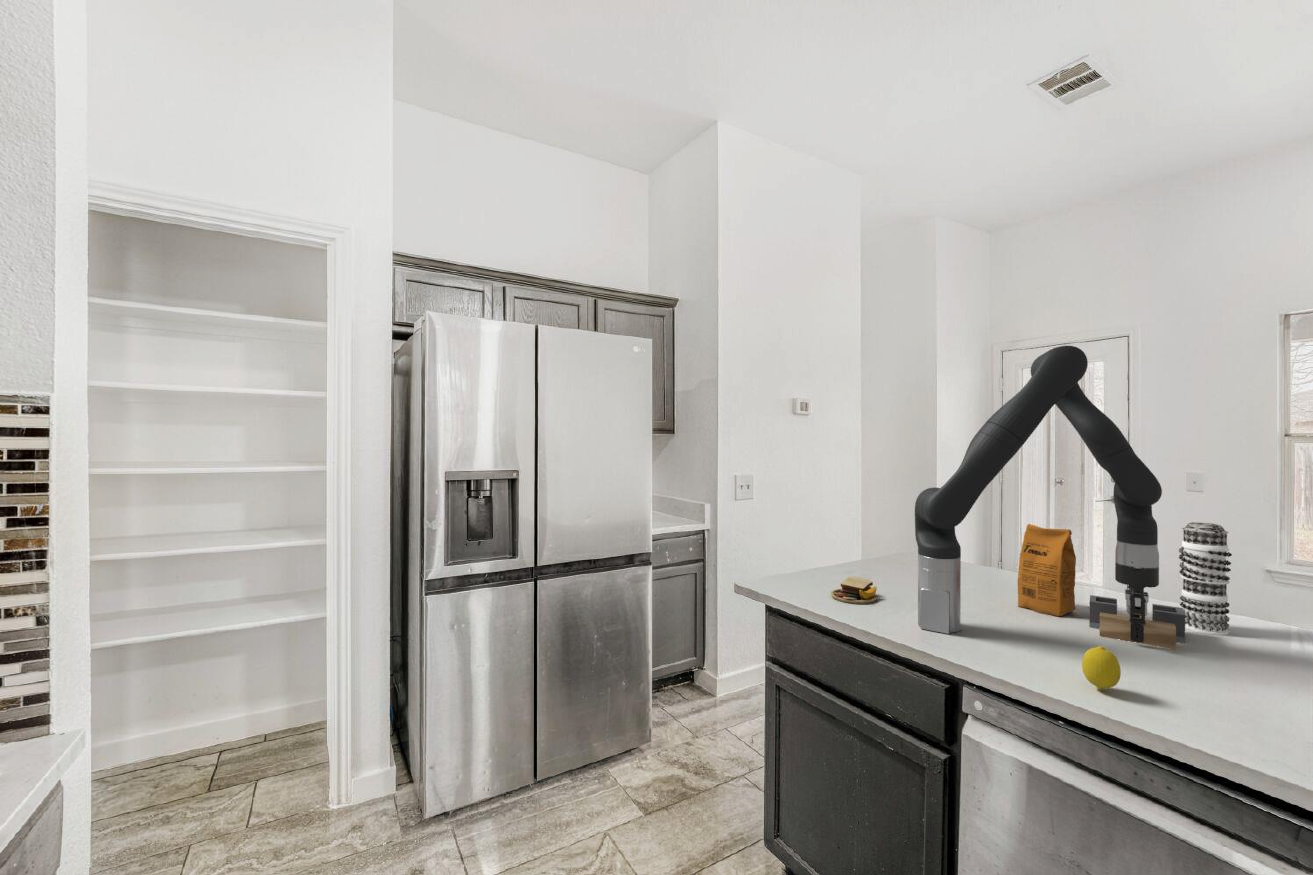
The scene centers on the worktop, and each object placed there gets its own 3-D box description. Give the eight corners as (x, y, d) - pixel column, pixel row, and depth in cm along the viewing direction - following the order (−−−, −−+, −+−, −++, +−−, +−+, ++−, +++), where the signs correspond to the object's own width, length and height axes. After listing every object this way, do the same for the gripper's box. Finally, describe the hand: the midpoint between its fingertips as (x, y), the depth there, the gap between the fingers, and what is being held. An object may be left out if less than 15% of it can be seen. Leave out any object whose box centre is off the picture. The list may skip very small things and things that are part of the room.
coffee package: (1032, 600, 159) (1033, 521, 159) (1082, 613, 148) (1082, 528, 148) (1010, 605, 155) (1010, 524, 155) (1059, 618, 144) (1059, 531, 144)
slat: (1175, 650, 124) (1175, 627, 123) (1099, 637, 132) (1099, 615, 132) (1174, 646, 126) (1174, 623, 126) (1099, 633, 134) (1099, 612, 134)
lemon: (1074, 684, 107) (1074, 641, 107) (1102, 683, 107) (1102, 640, 107) (1099, 697, 101) (1099, 652, 101) (1128, 696, 102) (1129, 651, 102)
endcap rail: (1185, 642, 127) (1185, 615, 127) (1089, 626, 138) (1089, 601, 138) (1181, 632, 134) (1181, 607, 134) (1090, 618, 144) (1090, 594, 144)
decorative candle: (1230, 628, 137) (1231, 523, 136) (1232, 638, 130) (1233, 528, 130) (1178, 619, 143) (1179, 519, 143) (1177, 629, 136) (1178, 524, 136)
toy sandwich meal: (821, 598, 163) (821, 581, 163) (847, 589, 172) (847, 573, 172) (861, 608, 154) (861, 590, 154) (887, 599, 162) (887, 582, 162)
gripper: (1114, 554, 137) (1114, 625, 137) (1115, 566, 125) (1115, 642, 125) (1156, 559, 132) (1156, 631, 132) (1161, 571, 121) (1161, 650, 121)
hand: (1136, 636), depth 129 cm, fingers open, 6 cm apart
